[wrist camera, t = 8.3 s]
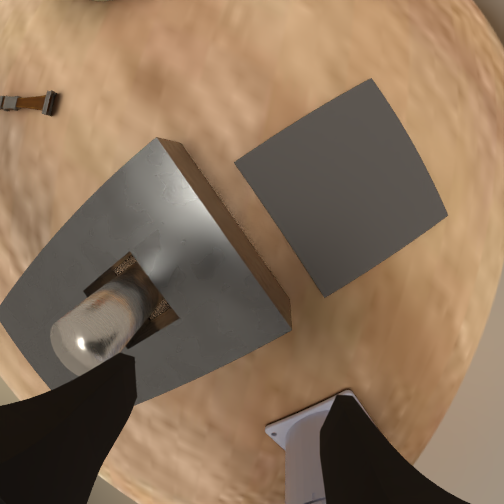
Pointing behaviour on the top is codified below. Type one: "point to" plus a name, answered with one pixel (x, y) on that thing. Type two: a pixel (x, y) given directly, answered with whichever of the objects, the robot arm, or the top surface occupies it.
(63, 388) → the robot arm
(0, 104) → the wooden post with brackets
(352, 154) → the rubber mat
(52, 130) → the top surface
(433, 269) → the top surface
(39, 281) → the block
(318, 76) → the top surface
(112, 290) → the steel pin
